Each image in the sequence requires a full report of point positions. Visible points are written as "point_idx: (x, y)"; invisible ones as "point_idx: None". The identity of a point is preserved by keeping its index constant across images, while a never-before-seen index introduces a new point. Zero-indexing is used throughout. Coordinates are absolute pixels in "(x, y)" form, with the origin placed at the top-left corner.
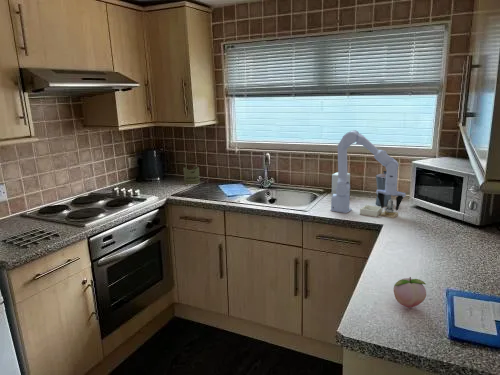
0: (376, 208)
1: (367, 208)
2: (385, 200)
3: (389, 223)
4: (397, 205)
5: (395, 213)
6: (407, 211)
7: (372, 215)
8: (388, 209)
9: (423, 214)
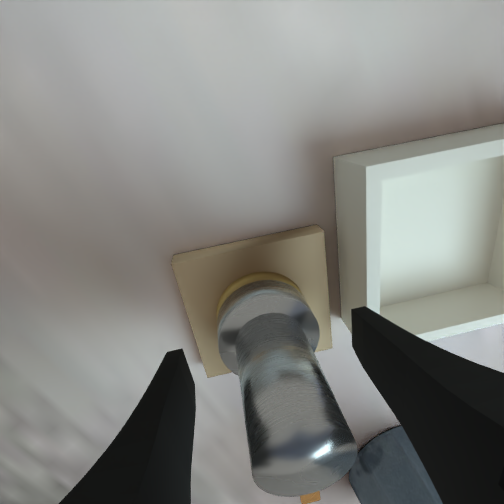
0: (413, 319)
1: (490, 289)
2: (405, 492)
3: (78, 9)
4: (147, 402)
5: (211, 343)
6: (194, 458)
7: (385, 148)
8: (269, 316)
9: (62, 481)
